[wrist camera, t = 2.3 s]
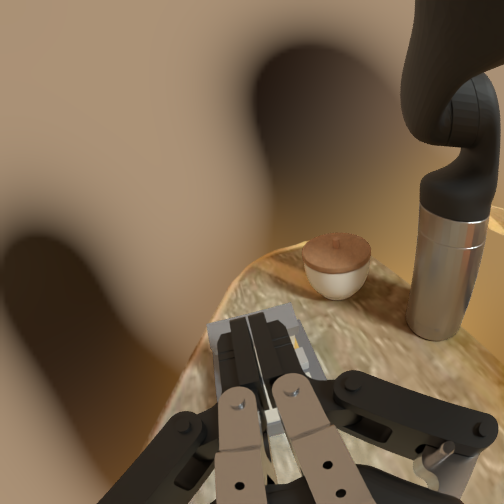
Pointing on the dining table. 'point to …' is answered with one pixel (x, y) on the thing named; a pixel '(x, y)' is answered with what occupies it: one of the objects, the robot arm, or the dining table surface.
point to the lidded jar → (336, 264)
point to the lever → (271, 314)
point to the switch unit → (308, 366)
